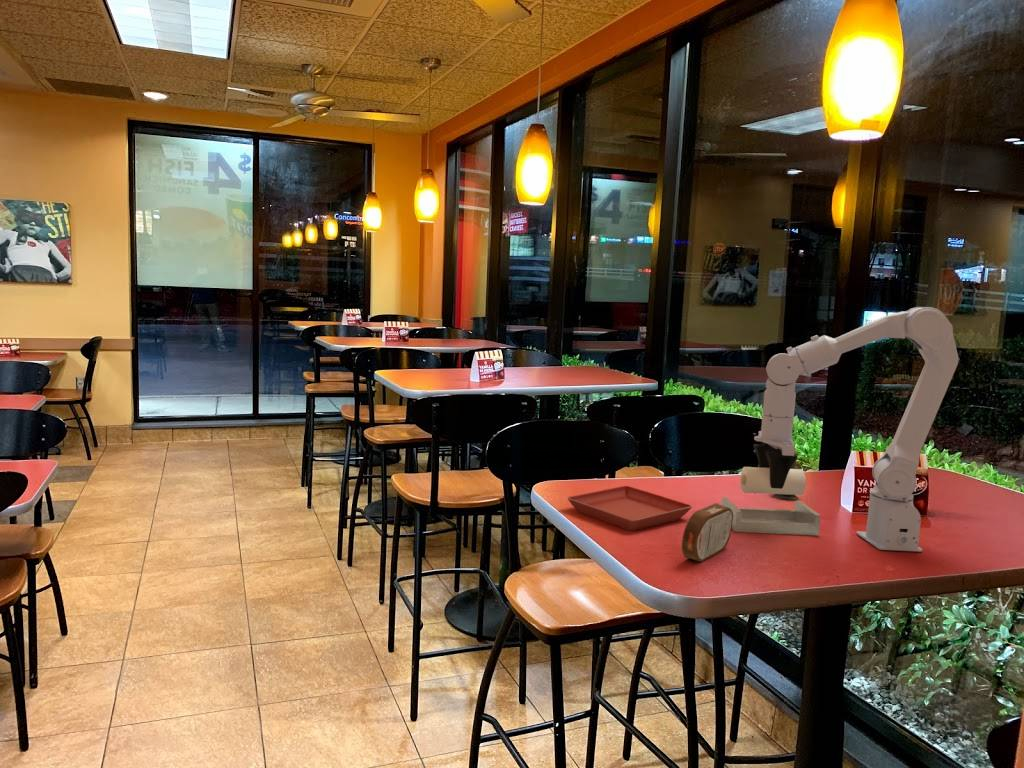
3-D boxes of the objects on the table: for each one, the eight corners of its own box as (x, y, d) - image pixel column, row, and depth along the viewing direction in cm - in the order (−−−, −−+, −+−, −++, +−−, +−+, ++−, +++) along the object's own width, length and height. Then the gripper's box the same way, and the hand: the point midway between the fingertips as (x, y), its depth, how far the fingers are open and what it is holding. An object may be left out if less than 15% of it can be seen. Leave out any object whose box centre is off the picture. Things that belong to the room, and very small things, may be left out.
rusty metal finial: (795, 494, 176) (800, 443, 175) (802, 501, 170) (808, 448, 169) (769, 492, 177) (774, 441, 175) (775, 499, 171) (780, 446, 170)
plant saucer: (632, 537, 141) (633, 519, 140) (564, 512, 154) (565, 496, 154) (693, 521, 152) (694, 505, 152) (625, 500, 166) (626, 485, 166)
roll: (806, 496, 147) (807, 470, 147) (746, 494, 147) (747, 468, 147) (796, 493, 152) (797, 467, 152) (738, 490, 152) (739, 465, 152)
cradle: (818, 535, 146) (820, 515, 145) (734, 531, 146) (736, 511, 145) (798, 519, 156) (800, 500, 155) (720, 516, 156) (721, 497, 155)
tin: (717, 543, 138) (721, 498, 137) (733, 547, 136) (737, 501, 135) (678, 563, 127) (682, 514, 126) (695, 568, 125) (700, 518, 124)
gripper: (745, 408, 155) (739, 474, 157) (770, 420, 141) (763, 493, 142) (780, 410, 155) (774, 476, 157) (808, 422, 141) (801, 494, 143)
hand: (771, 484), depth 150 cm, fingers closed on roll, 5 cm apart
